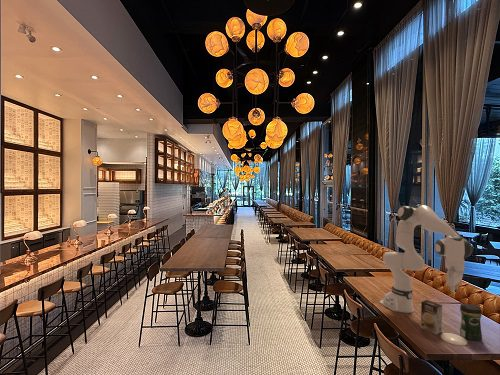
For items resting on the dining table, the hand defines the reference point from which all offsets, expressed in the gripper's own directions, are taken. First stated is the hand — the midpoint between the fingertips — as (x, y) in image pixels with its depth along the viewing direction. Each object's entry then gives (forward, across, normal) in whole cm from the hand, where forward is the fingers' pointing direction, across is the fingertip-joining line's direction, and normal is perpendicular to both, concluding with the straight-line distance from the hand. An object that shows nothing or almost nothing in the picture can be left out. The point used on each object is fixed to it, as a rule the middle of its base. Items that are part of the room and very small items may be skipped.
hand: (454, 290), depth 159 cm
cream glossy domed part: (+28, 0, 0) cm, 28 cm away
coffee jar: (+28, +11, -6) cm, 30 cm away
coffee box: (+28, +4, +12) cm, 30 cm away
